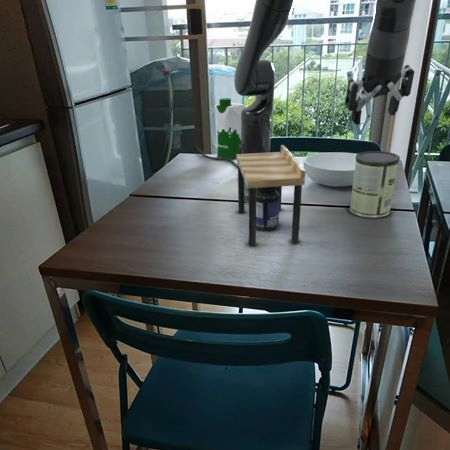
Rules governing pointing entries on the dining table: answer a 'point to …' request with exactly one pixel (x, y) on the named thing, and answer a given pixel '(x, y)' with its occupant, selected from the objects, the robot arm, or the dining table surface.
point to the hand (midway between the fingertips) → (373, 118)
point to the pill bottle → (267, 208)
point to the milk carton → (228, 128)
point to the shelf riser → (269, 183)
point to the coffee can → (373, 183)
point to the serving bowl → (331, 168)
